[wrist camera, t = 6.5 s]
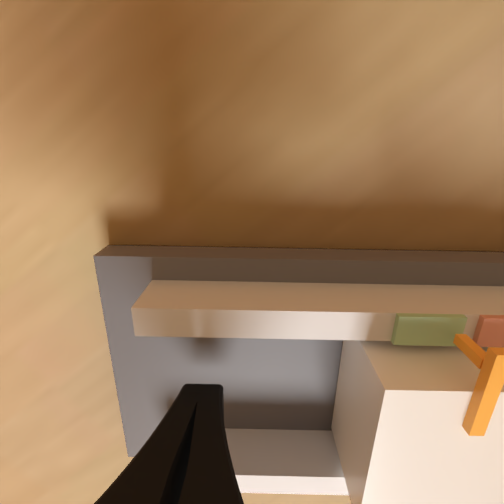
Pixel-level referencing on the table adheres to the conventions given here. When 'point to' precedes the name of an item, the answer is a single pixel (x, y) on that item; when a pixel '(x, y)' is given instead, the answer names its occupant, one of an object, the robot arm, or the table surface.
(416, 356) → the gauge carriage
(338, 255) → the gauge base
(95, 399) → the table surface
